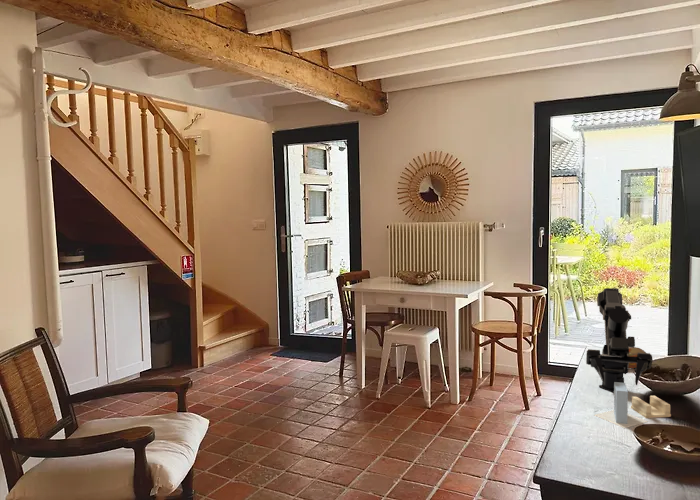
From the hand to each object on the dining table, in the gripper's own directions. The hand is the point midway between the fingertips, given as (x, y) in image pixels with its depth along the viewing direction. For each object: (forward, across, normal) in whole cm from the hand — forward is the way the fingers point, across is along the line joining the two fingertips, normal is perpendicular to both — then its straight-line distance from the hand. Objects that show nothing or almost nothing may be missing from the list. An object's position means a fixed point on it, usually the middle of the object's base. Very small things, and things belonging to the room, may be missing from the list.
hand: (619, 383), depth 168 cm
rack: (+4, +9, +11) cm, 15 cm away
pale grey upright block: (+9, 0, +5) cm, 11 cm away
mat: (+9, 0, +5) cm, 11 cm away
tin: (-30, +7, +44) cm, 54 cm away
